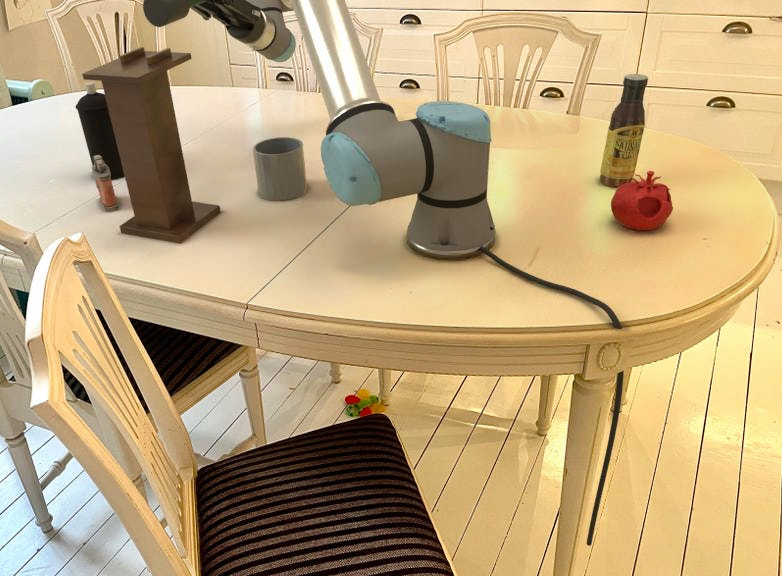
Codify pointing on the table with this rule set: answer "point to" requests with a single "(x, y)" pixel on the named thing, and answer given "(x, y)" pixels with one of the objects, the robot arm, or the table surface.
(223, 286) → the table surface
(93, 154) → the aerosol can
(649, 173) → the red hollow tomato
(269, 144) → the steel cup
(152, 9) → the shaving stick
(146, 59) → the stand
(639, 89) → the sauce bottle
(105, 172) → the lighter
